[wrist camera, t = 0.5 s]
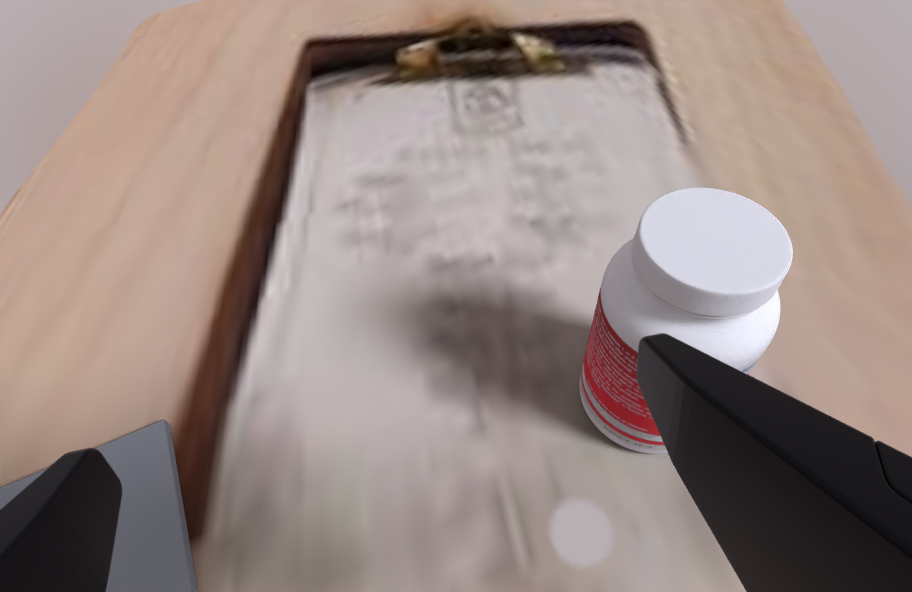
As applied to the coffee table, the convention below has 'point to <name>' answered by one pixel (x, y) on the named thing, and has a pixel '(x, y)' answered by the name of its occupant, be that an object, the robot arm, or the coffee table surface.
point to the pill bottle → (682, 300)
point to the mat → (143, 514)
